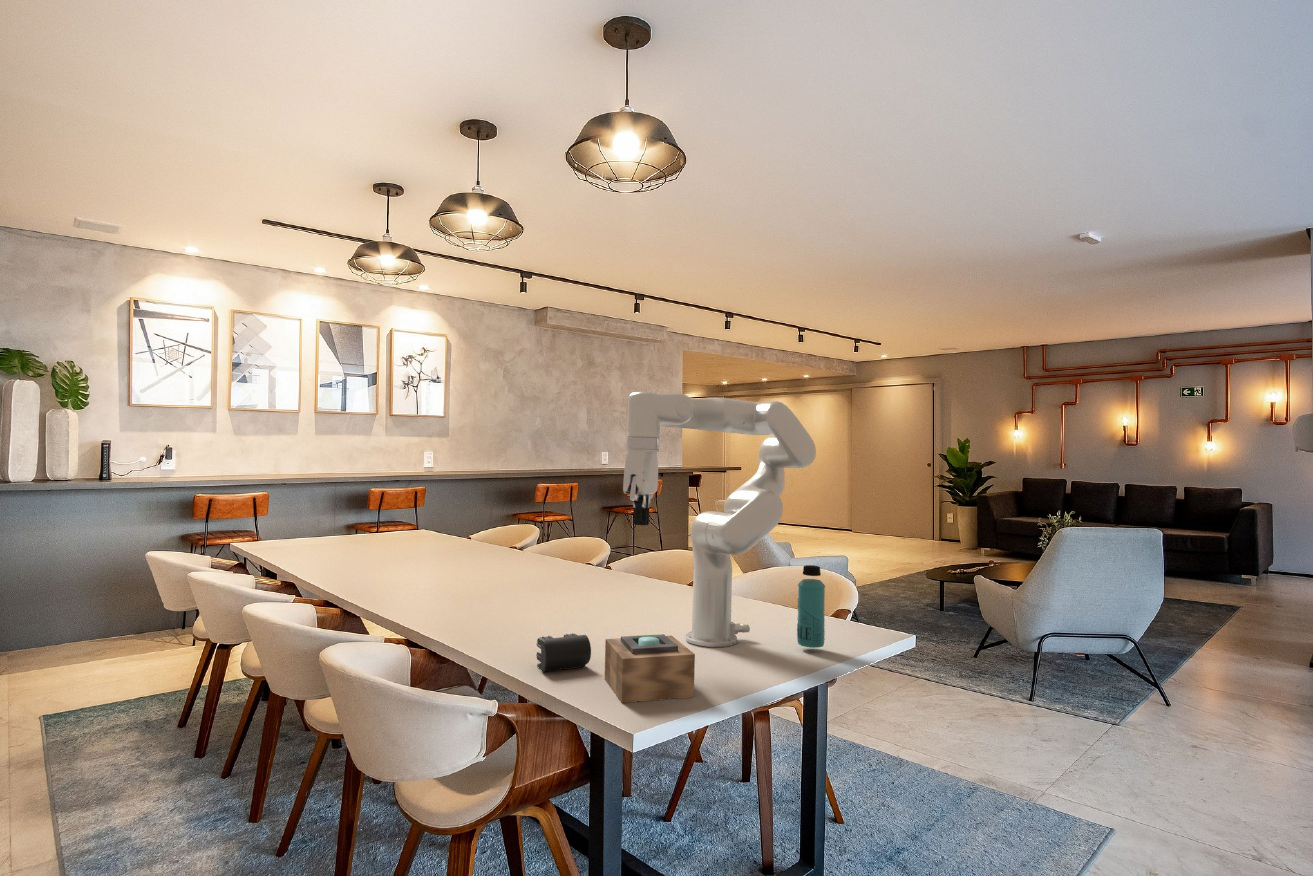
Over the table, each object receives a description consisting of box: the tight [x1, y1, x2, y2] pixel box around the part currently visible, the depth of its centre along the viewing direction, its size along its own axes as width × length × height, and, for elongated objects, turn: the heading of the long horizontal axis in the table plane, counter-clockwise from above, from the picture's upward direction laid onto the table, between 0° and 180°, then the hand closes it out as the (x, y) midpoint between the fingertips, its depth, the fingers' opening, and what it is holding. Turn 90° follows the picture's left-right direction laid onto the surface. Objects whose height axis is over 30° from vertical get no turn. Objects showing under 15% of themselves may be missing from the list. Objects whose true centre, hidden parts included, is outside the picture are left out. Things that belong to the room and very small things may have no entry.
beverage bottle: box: [796, 564, 826, 649], centre depth 167 cm, size 6×7×20 cm
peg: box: [639, 637, 659, 646], centre depth 137 cm, size 4×4×9 cm
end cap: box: [535, 633, 592, 673], centre depth 149 cm, size 10×7×7 cm
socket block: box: [604, 633, 696, 704], centre depth 137 cm, size 14×14×9 cm
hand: (641, 524), depth 163 cm, fingers closed
